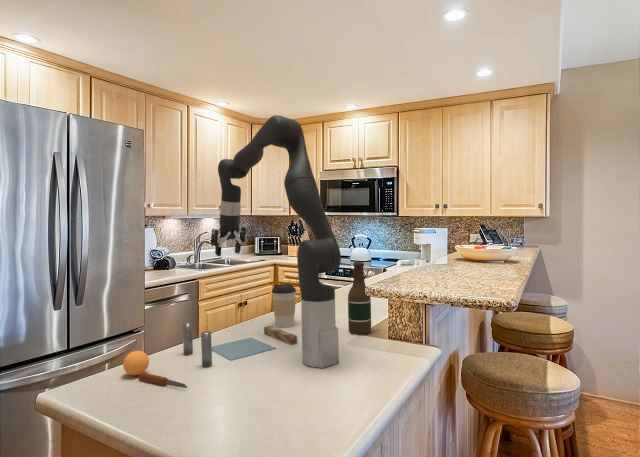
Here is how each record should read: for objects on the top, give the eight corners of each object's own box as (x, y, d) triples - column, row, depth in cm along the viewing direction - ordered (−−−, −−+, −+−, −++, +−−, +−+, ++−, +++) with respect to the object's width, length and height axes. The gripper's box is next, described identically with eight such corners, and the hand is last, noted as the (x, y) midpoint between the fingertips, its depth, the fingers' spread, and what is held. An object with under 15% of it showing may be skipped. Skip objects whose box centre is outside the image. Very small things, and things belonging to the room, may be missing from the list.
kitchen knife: (137, 381, 97) (137, 373, 97) (142, 379, 98) (142, 371, 98) (185, 392, 90) (185, 384, 90) (189, 390, 91) (189, 381, 91)
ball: (152, 374, 100) (151, 351, 100) (127, 381, 96) (126, 357, 96) (145, 368, 105) (144, 346, 105) (120, 374, 101) (120, 351, 101)
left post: (194, 353, 116) (193, 323, 116) (185, 355, 114) (184, 325, 114) (190, 351, 118) (190, 321, 118) (182, 353, 116) (181, 323, 116)
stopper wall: (296, 343, 123) (296, 335, 123) (291, 344, 122) (291, 336, 122) (269, 333, 136) (269, 325, 136) (264, 334, 134) (264, 326, 134)
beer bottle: (370, 335, 130) (369, 263, 129) (347, 335, 131) (345, 263, 131) (372, 329, 137) (370, 260, 137) (350, 328, 139) (348, 260, 138)
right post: (213, 365, 106) (212, 332, 105) (204, 368, 104) (203, 334, 104) (209, 363, 108) (208, 330, 107) (200, 365, 106) (199, 332, 106)
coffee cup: (298, 321, 150) (297, 282, 150) (294, 328, 141) (293, 286, 141) (275, 321, 151) (274, 282, 150) (270, 328, 142) (269, 286, 141)
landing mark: (276, 348, 119) (276, 347, 119) (230, 360, 109) (230, 359, 109) (250, 337, 130) (250, 337, 130) (207, 348, 121) (207, 347, 121)
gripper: (219, 215, 140) (217, 259, 144) (251, 213, 151) (248, 254, 154) (208, 212, 145) (206, 254, 148) (239, 210, 156) (237, 249, 159)
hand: (228, 254), depth 151 cm, fingers open, 8 cm apart
